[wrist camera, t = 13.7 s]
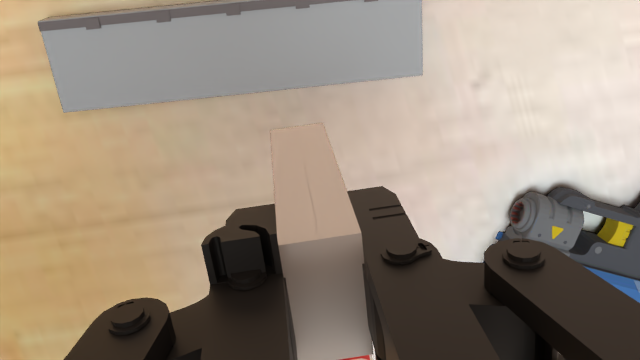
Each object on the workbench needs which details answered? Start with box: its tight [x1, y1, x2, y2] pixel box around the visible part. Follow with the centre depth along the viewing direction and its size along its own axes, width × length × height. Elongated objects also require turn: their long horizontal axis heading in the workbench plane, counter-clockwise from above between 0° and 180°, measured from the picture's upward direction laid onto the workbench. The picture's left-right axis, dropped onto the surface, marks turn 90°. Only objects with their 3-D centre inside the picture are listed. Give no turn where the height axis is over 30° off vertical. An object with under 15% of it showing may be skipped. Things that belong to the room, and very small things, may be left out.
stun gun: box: [492, 187, 640, 303], centre depth 42 cm, size 4×16×15 cm
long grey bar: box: [38, 0, 423, 113], centre depth 35 cm, size 22×5×2 cm, turn 95°
